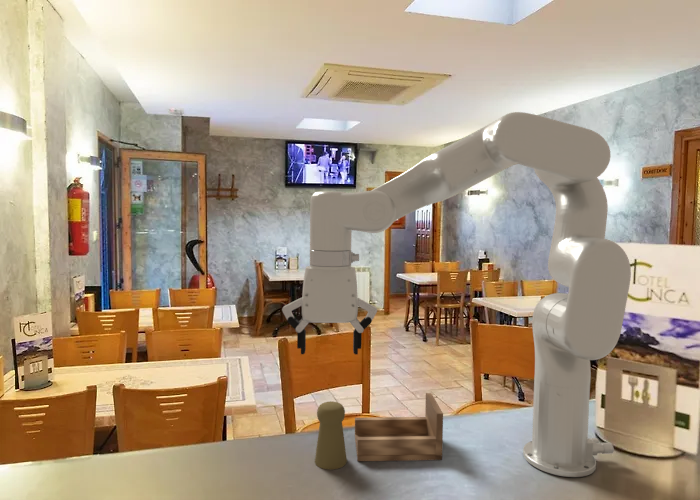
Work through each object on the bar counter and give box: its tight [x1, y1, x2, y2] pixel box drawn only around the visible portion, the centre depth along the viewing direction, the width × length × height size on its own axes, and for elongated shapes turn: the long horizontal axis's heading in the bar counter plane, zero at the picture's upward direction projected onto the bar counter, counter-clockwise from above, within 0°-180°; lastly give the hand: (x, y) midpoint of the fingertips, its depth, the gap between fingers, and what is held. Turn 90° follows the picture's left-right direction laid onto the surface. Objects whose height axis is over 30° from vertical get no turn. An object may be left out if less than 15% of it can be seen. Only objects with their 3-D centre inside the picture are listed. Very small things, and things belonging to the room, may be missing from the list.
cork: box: [314, 400, 348, 471], centre depth 90 cm, size 6×6×11 cm
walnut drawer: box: [354, 392, 444, 462], centre depth 95 cm, size 16×10×9 cm, turn 92°
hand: (329, 352), depth 89 cm, fingers open, 9 cm apart
